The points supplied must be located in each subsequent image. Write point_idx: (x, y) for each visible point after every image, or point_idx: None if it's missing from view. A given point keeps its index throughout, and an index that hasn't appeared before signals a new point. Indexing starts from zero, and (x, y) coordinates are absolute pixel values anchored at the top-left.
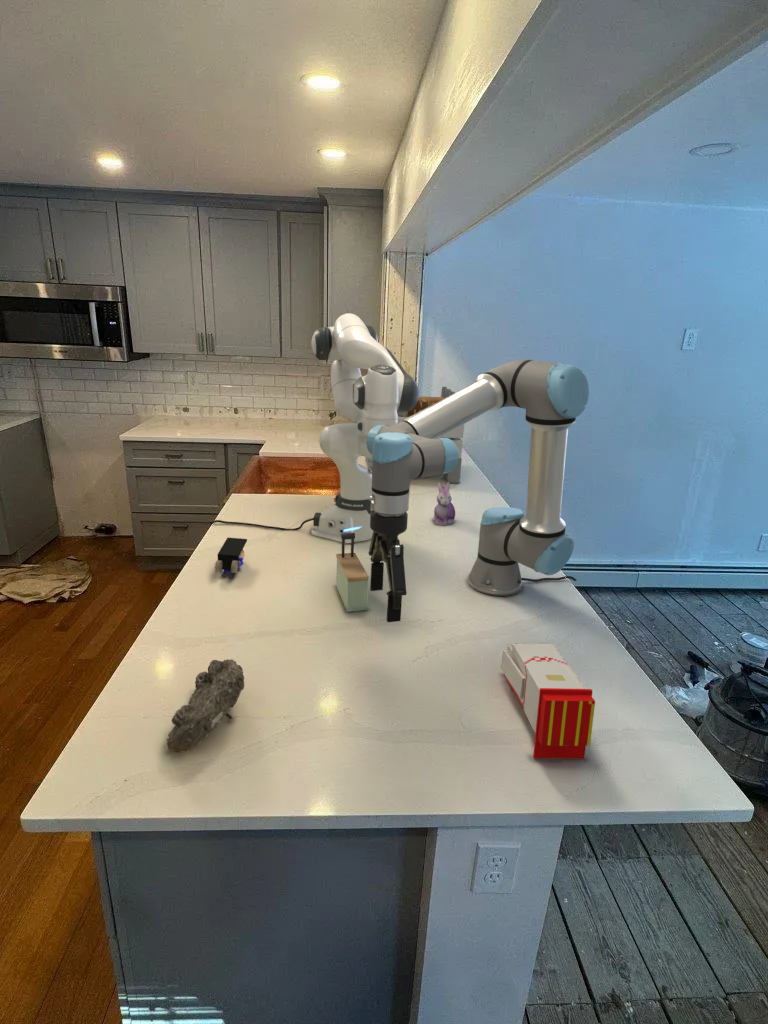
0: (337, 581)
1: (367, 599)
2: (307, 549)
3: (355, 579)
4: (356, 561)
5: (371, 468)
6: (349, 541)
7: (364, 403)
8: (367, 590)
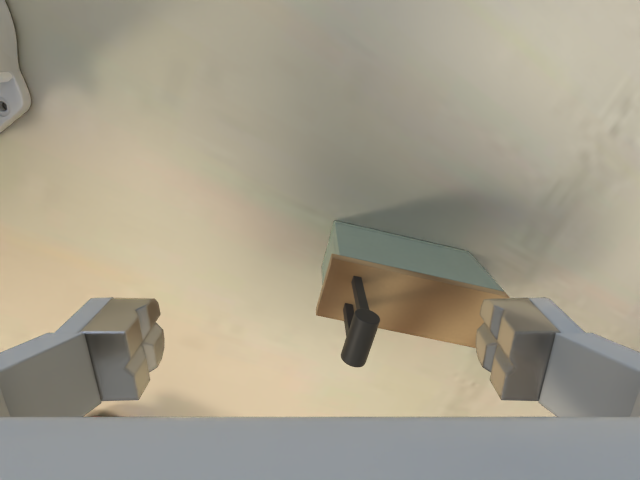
0: None
1: (479, 264)
2: (54, 246)
3: None
4: (398, 284)
5: (135, 378)
6: (25, 97)
7: None
8: (490, 276)
